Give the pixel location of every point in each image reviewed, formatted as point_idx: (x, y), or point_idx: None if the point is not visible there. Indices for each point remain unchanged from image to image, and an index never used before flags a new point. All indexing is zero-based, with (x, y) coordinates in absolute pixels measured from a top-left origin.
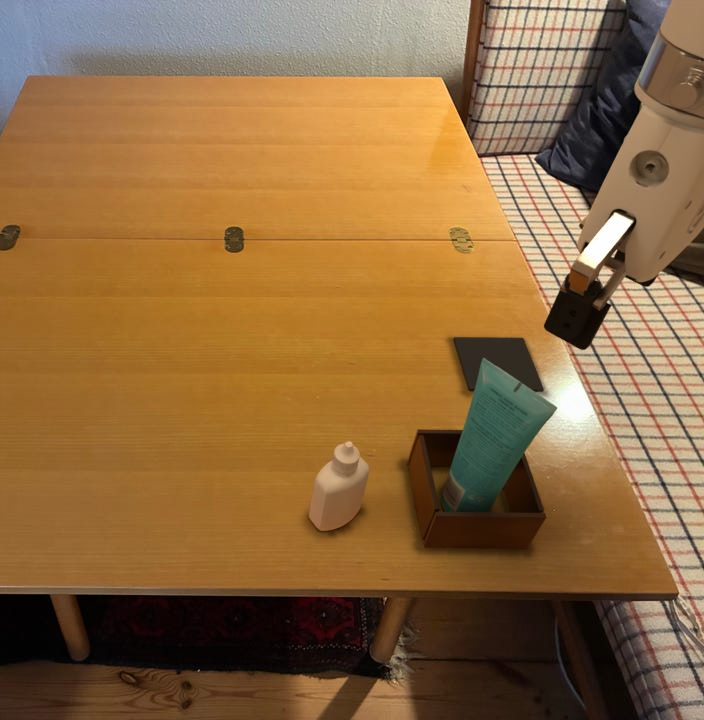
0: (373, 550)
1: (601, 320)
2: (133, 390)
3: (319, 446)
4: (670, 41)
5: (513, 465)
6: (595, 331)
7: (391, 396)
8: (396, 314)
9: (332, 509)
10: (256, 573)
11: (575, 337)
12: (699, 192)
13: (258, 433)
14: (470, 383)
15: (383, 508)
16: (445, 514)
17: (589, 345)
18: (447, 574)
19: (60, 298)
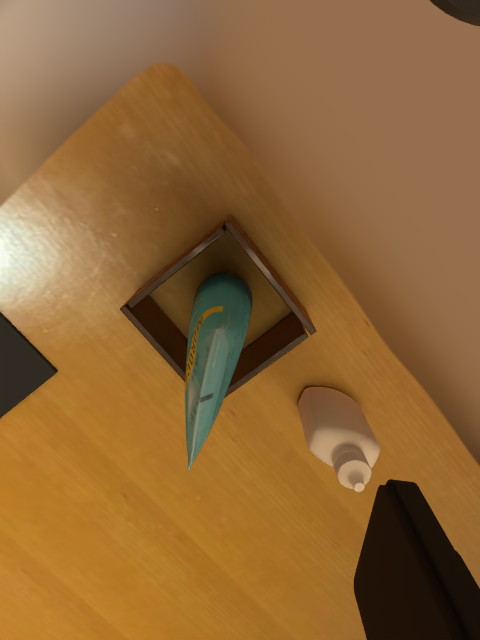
0: (343, 349)
1: (475, 589)
2: (322, 635)
3: (259, 460)
4: None
5: (233, 301)
6: (449, 542)
7: (136, 437)
8: (8, 497)
9: (364, 421)
10: (437, 425)
11: (456, 552)
12: None
13: (287, 516)
14: (47, 375)
15: (287, 367)
16: (308, 324)
17: (405, 485)
18: (320, 273)
19: None
